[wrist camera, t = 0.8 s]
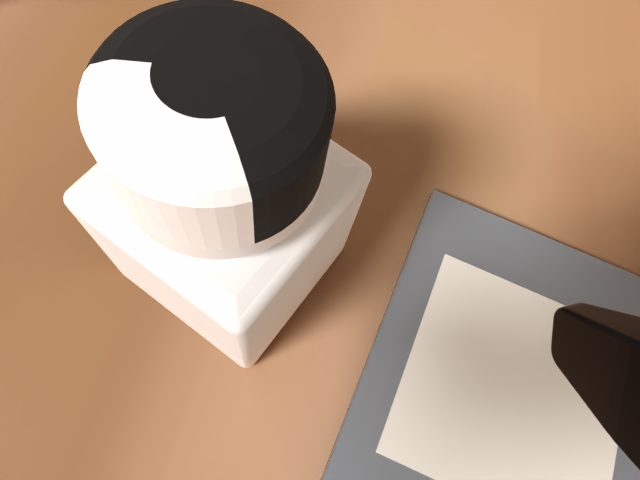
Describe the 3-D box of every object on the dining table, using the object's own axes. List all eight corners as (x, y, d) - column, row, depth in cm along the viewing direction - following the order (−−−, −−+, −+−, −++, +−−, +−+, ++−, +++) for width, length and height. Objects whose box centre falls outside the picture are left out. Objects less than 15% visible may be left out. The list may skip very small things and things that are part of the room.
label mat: (664, 294, 24) (675, 290, 23) (598, 766, 17) (612, 779, 16) (430, 195, 24) (434, 188, 24) (272, 604, 17) (272, 610, 17)
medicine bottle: (226, 161, 24) (192, -80, 13) (346, 246, 23) (420, 60, 12) (118, 271, 21) (-38, 86, 10) (248, 373, 20) (227, 286, 9)
